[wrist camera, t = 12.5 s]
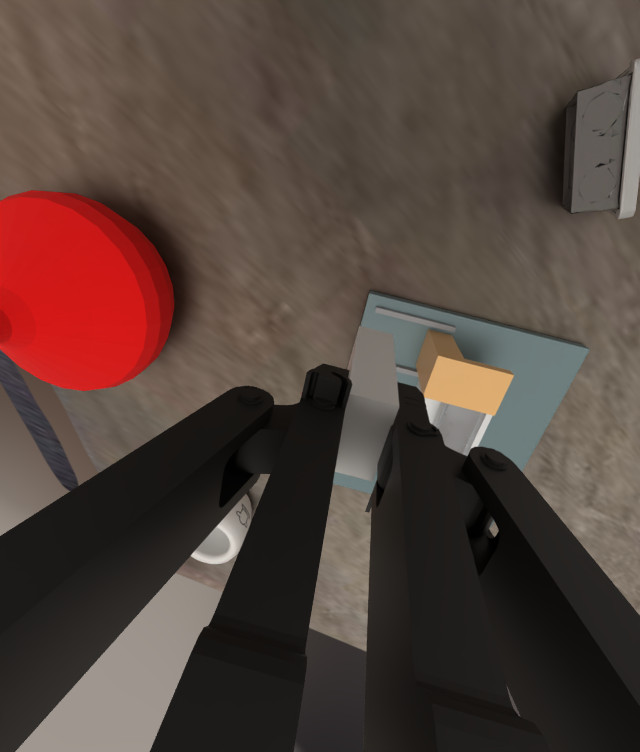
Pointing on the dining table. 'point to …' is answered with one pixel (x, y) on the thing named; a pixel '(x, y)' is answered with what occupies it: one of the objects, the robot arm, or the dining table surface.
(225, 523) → the mug
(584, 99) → the electrical switch
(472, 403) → the orange block
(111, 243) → the vase
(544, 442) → the dining table surface
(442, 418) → the grey long bar
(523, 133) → the dining table surface
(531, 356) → the teal base with bracket
